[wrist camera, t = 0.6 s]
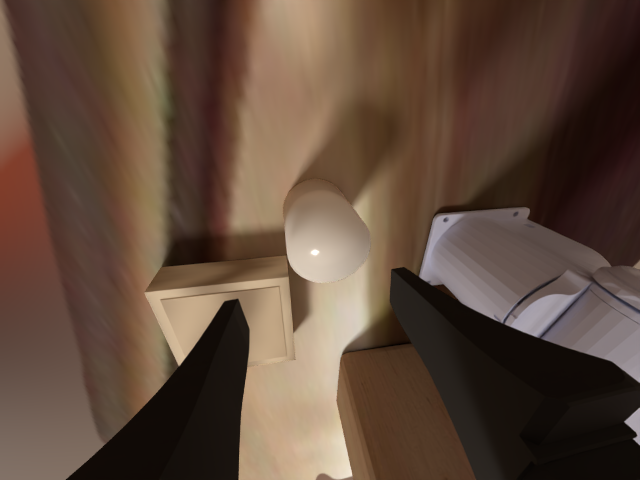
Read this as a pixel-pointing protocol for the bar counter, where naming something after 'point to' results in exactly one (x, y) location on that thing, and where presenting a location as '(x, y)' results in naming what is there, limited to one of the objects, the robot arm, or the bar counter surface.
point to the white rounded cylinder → (323, 232)
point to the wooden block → (396, 419)
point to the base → (221, 285)
